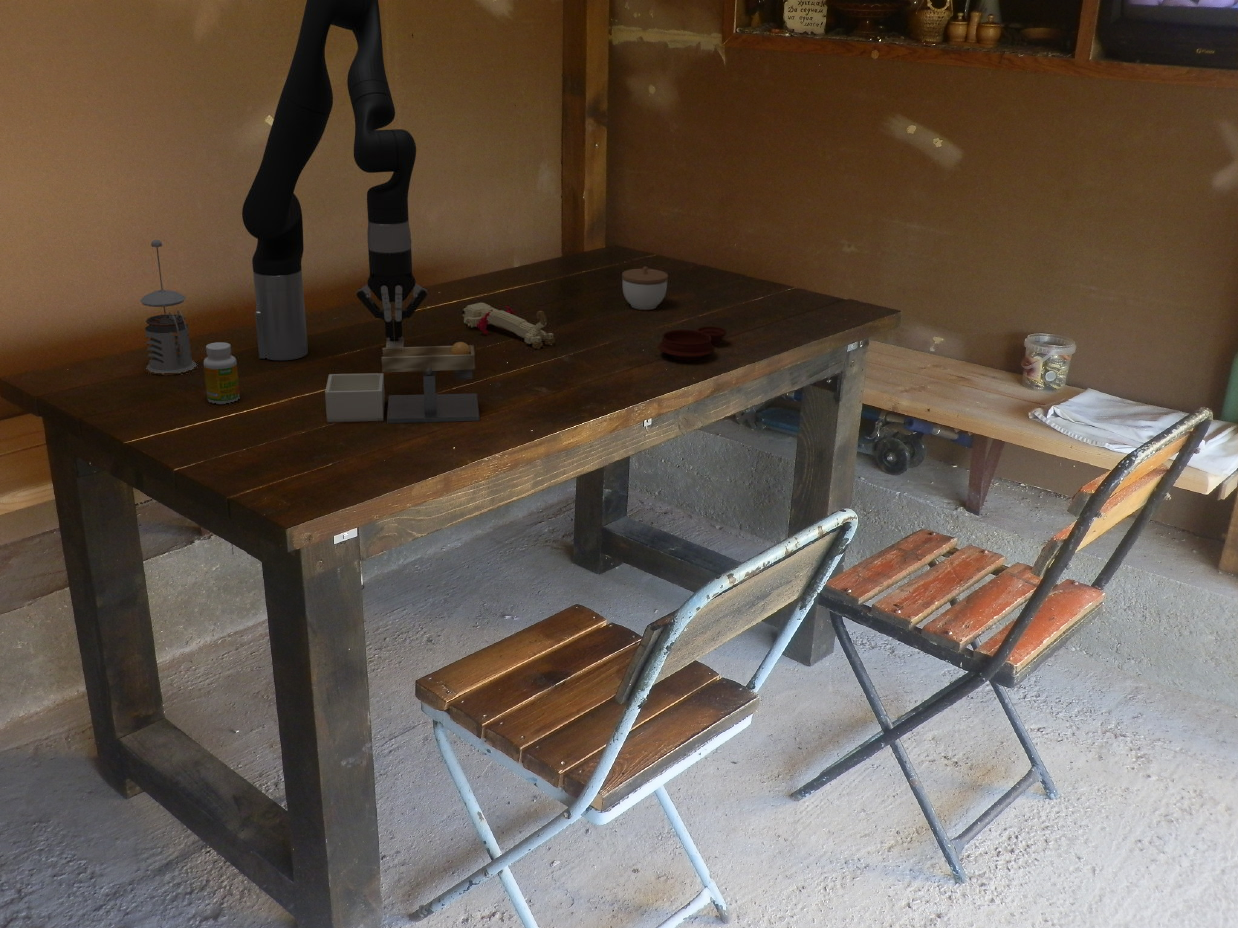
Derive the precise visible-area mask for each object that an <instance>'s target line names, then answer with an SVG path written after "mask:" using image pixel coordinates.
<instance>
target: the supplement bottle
mask: <svg viewBox="0 0 1238 928" xmlns="http://www.w3.org/2000/svg"><path fill="white" fill-rule="evenodd" d="M205 351H206V355H207V357H205V358H204V360H203V373H204V378H205V379H204V380H205V382H204V383H205V388H206V390H205V391H206V398H207V399H206V400H207V401H208V402H209V403H211V402H212V403H211V404H214V403H216V404H215V405H227V404H226V403H229V404H231V403H230V402H233V403H235V402H234V401H236V402H237V401H239V400H240V398H241V397H240V396H241V395H240V394H241V393H240V385H239V384H240V383H239V372H238V363H237V358H236V357H235V356H233V355H232V347H231V344H230V343H228V342H212V343H207V345H206V346H205ZM238 399H239V400H238Z"/></svg>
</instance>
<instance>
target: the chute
mask: <svg viewBox="0 0 1238 928" xmlns="http://www.w3.org/2000/svg"><path fill="white" fill-rule="evenodd" d="M467 345H468V344H467ZM452 346H453V345H438V346H437V345H435V346H432V345H431V346H407V347H406V346H405V339H404V336H402V337H401V338H399V341H395V337H394V341H390V338H387V337H386V345H385V347H382V356H381V370H382V371H381V373H401V372H402V373H404V372H405V373H406V372H424V371H426V373H427V374H428V375H430V374H431V373H432V371H435V372H436V371H438V372H439V371H454V379H455V380H456V381H457V380H458V381H459V380H461V381H462V380H473V378H474V377H473V370H476V362H475V361H476V360H475V358H476V357H475V356H476V355H475V348H474V345H473V344H469V345H468V346H469V348H470V351H471V353H470V354H464V355H451V348H452Z"/></svg>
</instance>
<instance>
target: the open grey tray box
mask: <svg viewBox="0 0 1238 928" xmlns="http://www.w3.org/2000/svg"><path fill="white" fill-rule="evenodd" d="M384 374H385V373H384V372H381V373H371V372H370V373H338V374H337V373H335V374H334V373H333V374H332V373H329V374H328V377H327V383H326V387H325V391H324V396H325V410H326V411H325V413H326V423H350V422H353V423H354V422H383V421H384V417H385V415H384V414H385V405H386V404H385V403H386V395H385V380H384V377H385V376H384Z"/></svg>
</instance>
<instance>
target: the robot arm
mask: <svg viewBox="0 0 1238 928" xmlns="http://www.w3.org/2000/svg"><path fill="white" fill-rule="evenodd" d="M304 7H305V8H304V11H303V16H302V21H301V25H300V29H299V33H298V34H299V35H298V39H297V42H296V46H295V49H294V50H295V51H294V54H293V57H292V60H291V64H290V66H289V70H288V73H287V77H286V79H285V82H284V85H283V88H282V90H281V93H280V97H279V99H278V103H277V105H276V110H275V112H274V117H273V121H272V125H271V126H270V130H269V133H268V137H267V141H266V145H265V148H264V153H263V155H262V160H261V162H260V166H259V167H258V170H257V173H256V175H255V177H254V180H253V181H252V184H251V186H250V189H249V191H248V193H247V195H246V197H245V199H244V203H243V205H242V209H241V218H242V223H243V225H244V227H245V229H246V231H247V232H248V234H250V236H252V237H254V238H255V239H257V243H256V249H255V251H254V253H253V255H252V261H251V262H252V263H251V264H252V273H253V274H252V275H253V283H254V295H255V307H256V308H255V312H254V318H255V328H256V338H257V348H258V359H265V358H267V359H266V360H272V361H290V360H296V359H301V358H303V357H305V356H307V355H308V354H309V351H308V350H309V349H308V335H307V324H306V323H307V321H306V309H305V296H304V294H305V293H304V283H303V270H302V269H303V268H302V259H303V255H304V224H303V213H302V212H303V211H302V210H303V209H302V207H301V203H300V201H299V198H298V197H297V195H296V193H294V192H295V189H296V186H297V182H298V180H299V177H300V175H301V173H302V172H303V171H304V169H305V167H306V166H307V163H308V162H309V161H310V159H311V157H312V155H313V154H314V153H315V151H316V149H317V147H318V145H319V143H320V141H321V140H322V137H323V135H324V133H325V130H326V127H327V123H328V121H329V118H330V115H331V112H332V110H333V106H334V105H333V104H334V93H333V89H332V83H331V79H330V76H329V75H330V74H329V71H328V68H327V63H326V52H325V51H326V45H327V39H328V34H329V31H330V27H331V26H335V27H338V28H341V29H344V30H348V31H351V32H352V33H353V35H354V37H355V41H356V45H357V50H356V54H355V56H354V58H353V60H352V62H351V63H350V66H349V70H348V71H347V72H348V73H347V80H346V82H347V83H346V85H347V91H348V95H349V98H350V99H349V100H350V103H351V106H352V107H351V108H352V111H353V116H354V128H355V129H354V130H355V131H354V142H353V159H354V162H355V164H356V165H357V167H358V168H359V169H360V170H361V171H362V172H364V173H368V174H369V173H370V174H371V173H372V174H374V173H392V172H393V173H392V175H391V177H390V178H389V180H388V181H387V180H386V182H383V183H380V184H377V185H373V186H371V187H369V189H368V190H367V193H366V210H367V234H366V235H367V250H368V269H369V276H368V278H367V281H366V282H367V283H366V284H365V285H364V286H363V287H362V288H358V289H357V291H356V298H358V300H360V302H361V303H362V304H363V305H364V307H366V309H367V310H368V311H369V312H370V313H371V314H372V315H373V316H374V318H376V319H380V320H383V321H384V328H385V329H384V330H385V338H386V339H387V338H390V341H394V337H395V341H399V338H401V337H403V322H402V321H403V320H405V319H410V318H411V317H412V316H413V314H414V313H415V312H416V311H417V309H418V308H419V307H420V306H421V304H422V302H423V301H424V300H425V299H426V298H427V296H428V291H427V288H426V287H422V286H421V285H419V284H418V283H416V278H415V277H414V273H413V258H412V257H413V256H412V253H413V252H412V238H411V236H412V233H411V228H410V221H409V189H410V183H411V178H412V175H413V170H414V166H415V162H416V159H417V158H416V157H417V146H416V145H417V144H416V141H415V139H414V137H413V136H412V134H411V132H409V131H407V130H406V129H401V128H400V129H399V128H398V129H397V128H395V129H392V128H391V129H382V128H386V127H387V126H388V125H390V124H391V123H393V121H394V120H395V116H396V110H395V103H394V101H393V96H392V92H391V89H390V86H389V81H388V78H387V74H386V69H385V61H384V49H383V36H382V35H383V33H382V26H381V15H380V14H381V12H380V3H379V0H306V3H305V6H304ZM412 291H413V293H412ZM372 293H373V294H374V295H375V296H376V299H378V300H379V302H381V303H382V309H383V310H382V309H381V308H380V307H379V305H378V304H377V303H376V302H375V301H374V300H373V299H372V298H371V297H372ZM410 293H412V294H413V299H412V300H411V301H410V303H409V304H408V305H407V306H406V308H405V309H403V302H404V301H406V300H407V298H408V296H409V295H410ZM391 303H394V318H393V315H392V314H393V313H392V306H391Z"/></svg>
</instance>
